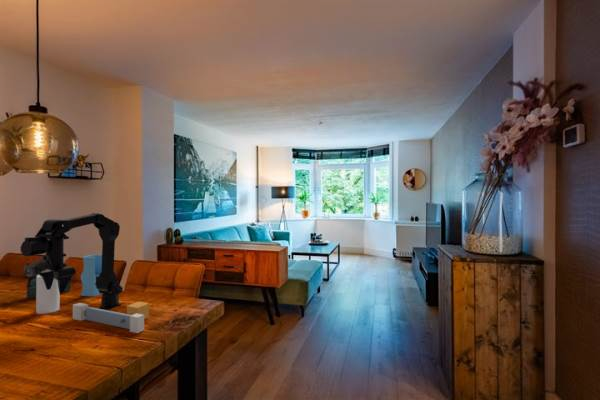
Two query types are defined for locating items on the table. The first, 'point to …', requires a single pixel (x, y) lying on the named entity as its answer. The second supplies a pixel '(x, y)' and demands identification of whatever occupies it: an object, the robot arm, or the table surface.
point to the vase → (91, 274)
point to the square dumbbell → (135, 319)
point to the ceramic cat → (32, 283)
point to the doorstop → (138, 309)
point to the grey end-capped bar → (107, 317)
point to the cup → (46, 296)
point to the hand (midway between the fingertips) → (54, 291)
